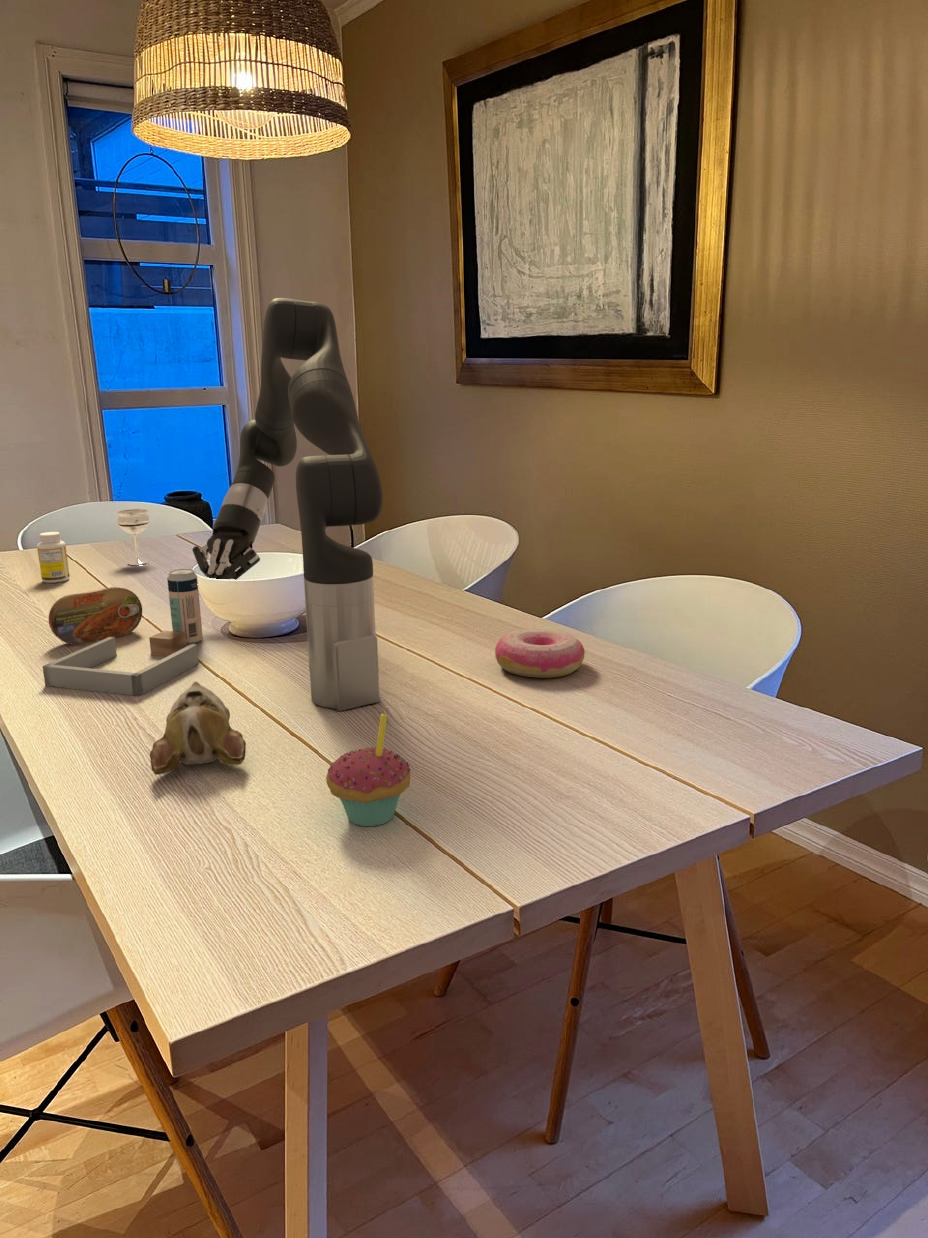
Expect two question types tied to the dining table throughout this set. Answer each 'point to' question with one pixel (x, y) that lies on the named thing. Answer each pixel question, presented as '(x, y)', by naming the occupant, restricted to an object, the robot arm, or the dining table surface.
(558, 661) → the donut
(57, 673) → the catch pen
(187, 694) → the ceramic sculpture
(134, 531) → the wineglass
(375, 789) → the cupcake
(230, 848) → the dining table surface
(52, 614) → the tin
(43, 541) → the supplement bottle
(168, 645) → the tan wooden block
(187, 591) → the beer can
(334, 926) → the dining table surface
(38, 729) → the dining table surface
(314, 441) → the robot arm
